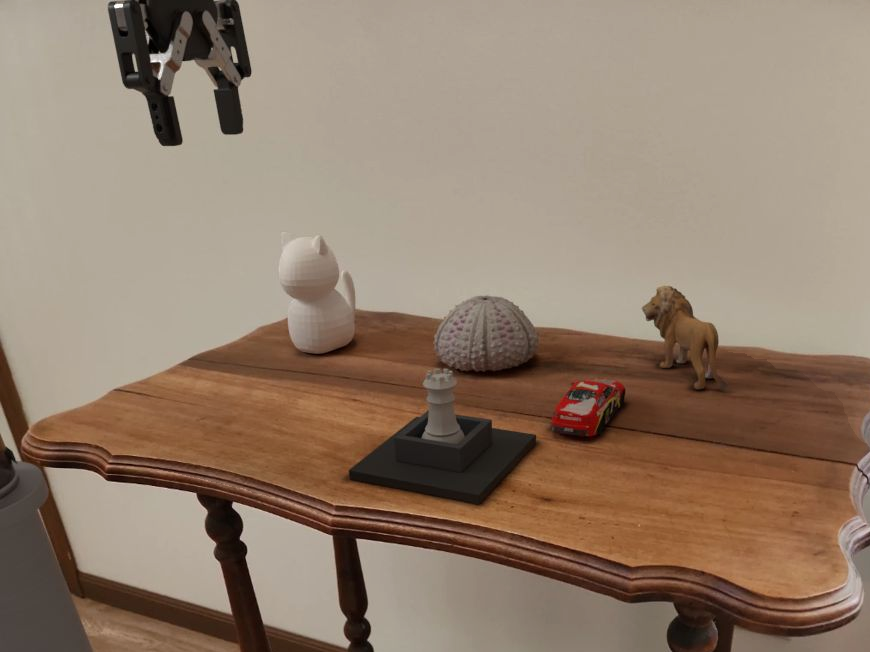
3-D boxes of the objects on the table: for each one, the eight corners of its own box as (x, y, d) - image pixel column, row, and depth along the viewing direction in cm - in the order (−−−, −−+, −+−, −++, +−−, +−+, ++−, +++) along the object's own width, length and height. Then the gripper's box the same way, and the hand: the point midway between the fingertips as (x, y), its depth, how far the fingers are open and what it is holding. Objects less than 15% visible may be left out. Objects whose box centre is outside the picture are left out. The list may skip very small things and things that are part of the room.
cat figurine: (274, 354, 111) (253, 237, 102) (331, 328, 119) (316, 218, 111) (325, 364, 107) (307, 242, 98) (380, 336, 115) (368, 222, 106)
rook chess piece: (466, 459, 79) (463, 380, 74) (421, 462, 79) (415, 382, 74) (465, 440, 82) (462, 363, 78) (421, 442, 83) (416, 366, 78)
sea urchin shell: (414, 363, 105) (410, 299, 101) (491, 338, 112) (490, 277, 107) (483, 388, 97) (481, 320, 92) (561, 359, 103) (563, 295, 99)
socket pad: (479, 504, 73) (478, 469, 71) (349, 479, 79) (344, 446, 77) (536, 443, 83) (536, 411, 81) (417, 424, 89) (414, 394, 87)
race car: (585, 394, 94) (586, 360, 92) (630, 400, 92) (633, 365, 89) (542, 437, 84) (543, 400, 82) (592, 445, 82) (594, 408, 80)
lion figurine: (632, 359, 102) (638, 285, 97) (666, 352, 104) (674, 279, 99) (708, 397, 91) (719, 316, 86) (745, 387, 93) (758, 307, 88)
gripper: (128, -102, 59) (182, 150, 68) (250, -88, 69) (282, 130, 79) (56, -91, 62) (117, 150, 71) (183, -79, 72) (221, 130, 82)
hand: (203, 139), depth 75 cm, fingers open, 8 cm apart
